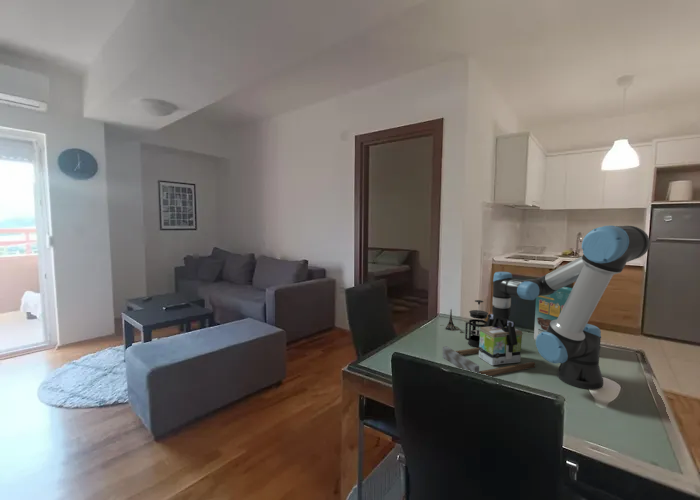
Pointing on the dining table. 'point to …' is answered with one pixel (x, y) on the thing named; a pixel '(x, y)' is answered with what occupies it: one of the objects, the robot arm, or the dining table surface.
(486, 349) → the tea box
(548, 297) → the cake mix box
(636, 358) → the dining table surface
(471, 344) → the french press
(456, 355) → the guide track
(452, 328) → the eiffel tower figurine
